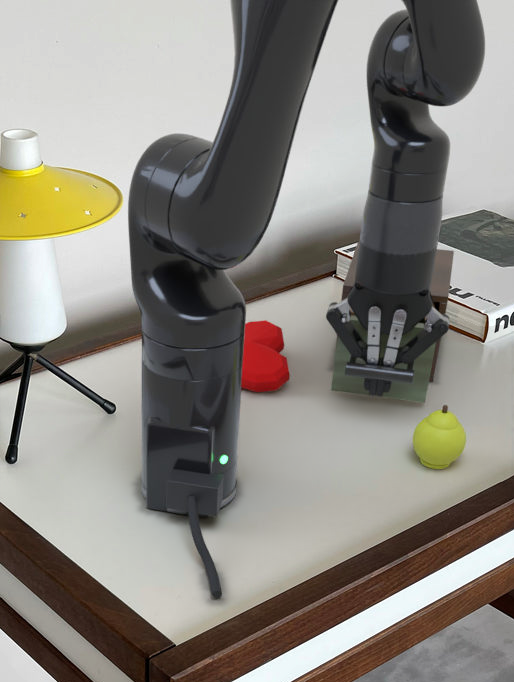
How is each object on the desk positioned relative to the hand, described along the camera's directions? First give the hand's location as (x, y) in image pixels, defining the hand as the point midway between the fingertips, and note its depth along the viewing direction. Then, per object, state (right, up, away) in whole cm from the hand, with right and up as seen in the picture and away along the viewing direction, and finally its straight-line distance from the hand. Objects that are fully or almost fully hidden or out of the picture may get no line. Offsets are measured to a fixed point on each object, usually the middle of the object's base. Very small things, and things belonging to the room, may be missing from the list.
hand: (376, 393), depth 110 cm
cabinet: (+5, +7, +15) cm, 18 cm away
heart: (-13, +4, +11) cm, 18 cm away
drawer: (+2, +2, +7) cm, 7 cm away
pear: (+5, -8, -6) cm, 11 cm away
